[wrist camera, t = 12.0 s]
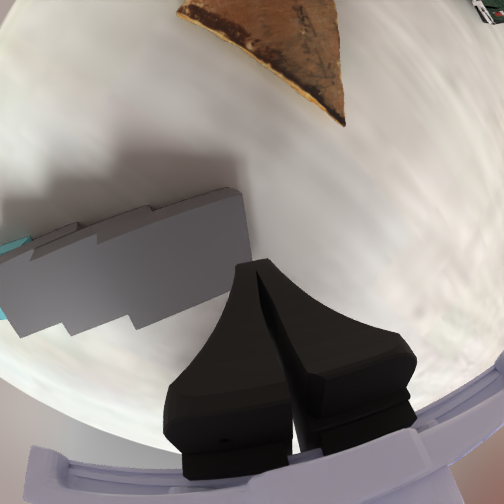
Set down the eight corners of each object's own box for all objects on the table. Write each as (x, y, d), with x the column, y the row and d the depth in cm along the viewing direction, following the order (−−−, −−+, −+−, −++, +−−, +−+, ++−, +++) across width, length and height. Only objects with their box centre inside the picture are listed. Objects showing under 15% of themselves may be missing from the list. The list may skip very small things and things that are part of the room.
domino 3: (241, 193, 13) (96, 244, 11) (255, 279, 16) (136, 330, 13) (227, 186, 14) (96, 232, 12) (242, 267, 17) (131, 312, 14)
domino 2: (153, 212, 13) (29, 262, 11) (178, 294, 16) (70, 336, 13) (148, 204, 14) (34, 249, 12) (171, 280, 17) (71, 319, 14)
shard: (334, 124, 14) (348, 128, 12) (192, 137, 13) (190, 141, 12) (315, -41, 8) (327, -53, 7) (175, -39, 8) (171, -54, 6)
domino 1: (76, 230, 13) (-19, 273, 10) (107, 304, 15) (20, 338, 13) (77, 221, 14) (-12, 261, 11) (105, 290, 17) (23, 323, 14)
